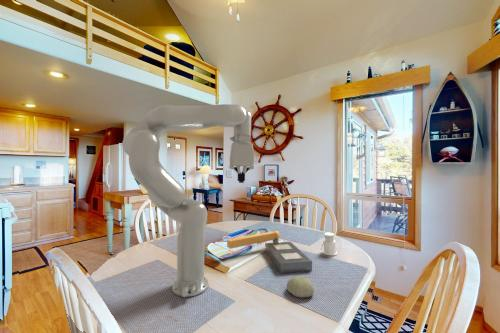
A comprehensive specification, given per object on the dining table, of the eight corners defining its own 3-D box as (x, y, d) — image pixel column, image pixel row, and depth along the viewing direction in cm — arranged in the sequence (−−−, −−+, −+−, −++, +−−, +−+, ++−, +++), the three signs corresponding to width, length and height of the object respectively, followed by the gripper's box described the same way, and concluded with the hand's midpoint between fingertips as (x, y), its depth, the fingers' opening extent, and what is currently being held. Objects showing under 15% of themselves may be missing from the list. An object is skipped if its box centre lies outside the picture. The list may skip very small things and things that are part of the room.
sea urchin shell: (292, 276, 85) (306, 266, 82) (305, 296, 82) (321, 287, 78) (280, 286, 78) (294, 275, 75) (294, 308, 75) (310, 298, 71)
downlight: (335, 250, 117) (335, 231, 117) (339, 256, 110) (339, 236, 110) (320, 250, 117) (319, 231, 117) (323, 256, 110) (322, 236, 110)
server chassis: (311, 270, 94) (312, 259, 94) (280, 273, 91) (281, 262, 91) (286, 245, 123) (286, 237, 123) (262, 247, 120) (262, 238, 120)
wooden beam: (230, 249, 104) (230, 241, 104) (226, 246, 107) (226, 239, 107) (280, 238, 120) (280, 232, 120) (276, 236, 123) (276, 230, 123)
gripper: (225, 138, 90) (224, 183, 90) (260, 140, 93) (260, 183, 93) (224, 140, 98) (223, 181, 98) (256, 141, 101) (255, 182, 101)
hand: (241, 182), depth 96 cm, fingers closed
